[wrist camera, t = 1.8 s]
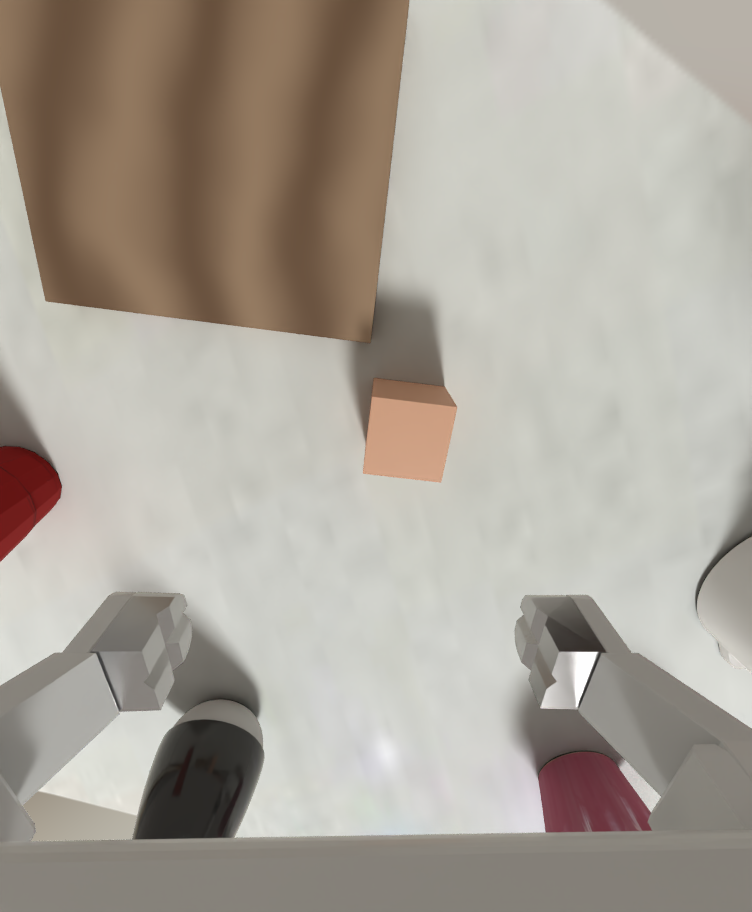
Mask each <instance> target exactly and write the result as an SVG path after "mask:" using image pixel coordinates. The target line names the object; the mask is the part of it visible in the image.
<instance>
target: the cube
mask: <svg viewBox="0 0 752 912" xmlns="http://www.w3.org/2000/svg"><path fill="white" fill-rule="evenodd" d="M456 411H457V406H456V404H455V403H454V401H453V399H452V398H451V396H450V394H449V393H448V391H447V390H446V388H445V387H443V386H435V385H427V384H419V383H411V382H403V381H395V380H387V379H379V378H374V380H373V389H372V397H371V405H370V414H369V422H368V431H367V439H366V448H365V458H364V468H363V474H371V475H380V476H389V477H398V478H406V479H415V480H424V481H432V482H441V481H442V476H443V471H444V467H445V462H446V457H447V453H448V448H449V443H450V439H451V434H452V430H453V425H454V420H455V416H456Z"/></svg>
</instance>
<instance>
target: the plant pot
mask: <svg viewBox="0 0 752 912" xmlns="http://www.w3.org/2000/svg"><path fill="white" fill-rule="evenodd" d="M539 787H540V793H541V800H542V808H543V815H544V823H545V830H546V832H606V831H652V829H651V827H650V825H649V823H648V820H649V816H650V814H651V812H650V811H649V809H648V808H647V807H646V805H645V804H644V802H643V801H642V800H641V798H640V797H639V795H638V794H637V793H636V791H635V790H634V789H633V787H632V786H631V785H630V783H629V782H628V780H627V779H626V778H625V776H624V775H623V773H622V772H621V771H620V769H619V768H618V766H617V765H616V763H615V762H614V761H613V760H612V759H611V758H609V757H607V756H606V755H603V754H600V753H596V752H574V753H569V754H565V755H562V756H560V757H557V758H555V759H553V760H551V761H550V762H548V763H547V764H546V765H545V766H544V767H543V768H542V770H541V771H540V773H539Z"/></svg>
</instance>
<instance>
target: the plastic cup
mask: <svg viewBox="0 0 752 912" xmlns="http://www.w3.org/2000/svg"><path fill="white" fill-rule="evenodd" d="M61 489H62V486H61V483H60V480H59V477H58V474H57V473H56V472H55V470H54V469H53V468H52V467H51V465H50V464H49V463H48V462H47V461H46V460H44V459H43V458H42V457H40V456H39V455H37V454H36V453H35V452H32V451H29V450H27V449H24V448H21V447H11V446H4V447H0V561H2V560H3V559H4V558H5V557H6V556H7V555H8V554H9V553H10V552H11V551H12V550H13V549H14V548H15V547H16V546H17V545H18V544H19V543H20V542H21V541H22V540H23V539H24V538H25V537H26V536H27V534H28V533H29V532H30V531H31V530H32V529H33V527H34V526H35V525H36V524H37V523H38V522H39V521H40V520H41V519H42V518H43V517H44V516H45V515H46V514H47V513H49V511H50V510H51V509H52V508H53V507H54V506H55V504H56V503H57V501H58V500H59V499H60V496H61Z"/></svg>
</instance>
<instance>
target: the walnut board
mask: <svg viewBox="0 0 752 912" xmlns="http://www.w3.org/2000/svg"><path fill="white" fill-rule="evenodd" d="M408 9H409V0H0V87H1V92H2V97H3V101H4V106H5V111H6V116H7V120H8V125H9V130H10V135H11V139H12V144H13V149H14V153H15V158H16V163H17V168H18V172H19V177H20V182H21V187H22V191H23V196H24V201H25V206H26V210H27V215H28V220H29V225H30V229H31V234H32V239H33V244H34V248H35V253H36V258H37V262H38V267H39V272H40V277H41V281H42V286H43V291H44V296H45V300H46V301H48V302H55V303H63V304H71V305H79V306H86V307H94V308H102V309H110V310H117V311H125V312H133V313H141V314H148V315H156V316H164V317H172V318H179V319H187V320H195V321H203V322H210V323H218V324H226V325H234V326H241V327H249V328H257V329H265V330H273V331H280V332H288V333H296V334H304V335H311V336H319V337H327V338H335V339H342V340H350V341H358V342H366V343H370V342H371V335H372V326H373V317H374V308H375V299H376V291H377V282H378V273H379V264H380V255H381V247H382V238H383V229H384V220H385V211H386V203H387V194H388V185H389V176H390V167H391V159H392V150H393V141H394V132H395V123H396V115H397V106H398V97H399V88H400V79H401V71H402V62H403V53H404V44H405V35H406V27H407V18H408Z"/></svg>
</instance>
